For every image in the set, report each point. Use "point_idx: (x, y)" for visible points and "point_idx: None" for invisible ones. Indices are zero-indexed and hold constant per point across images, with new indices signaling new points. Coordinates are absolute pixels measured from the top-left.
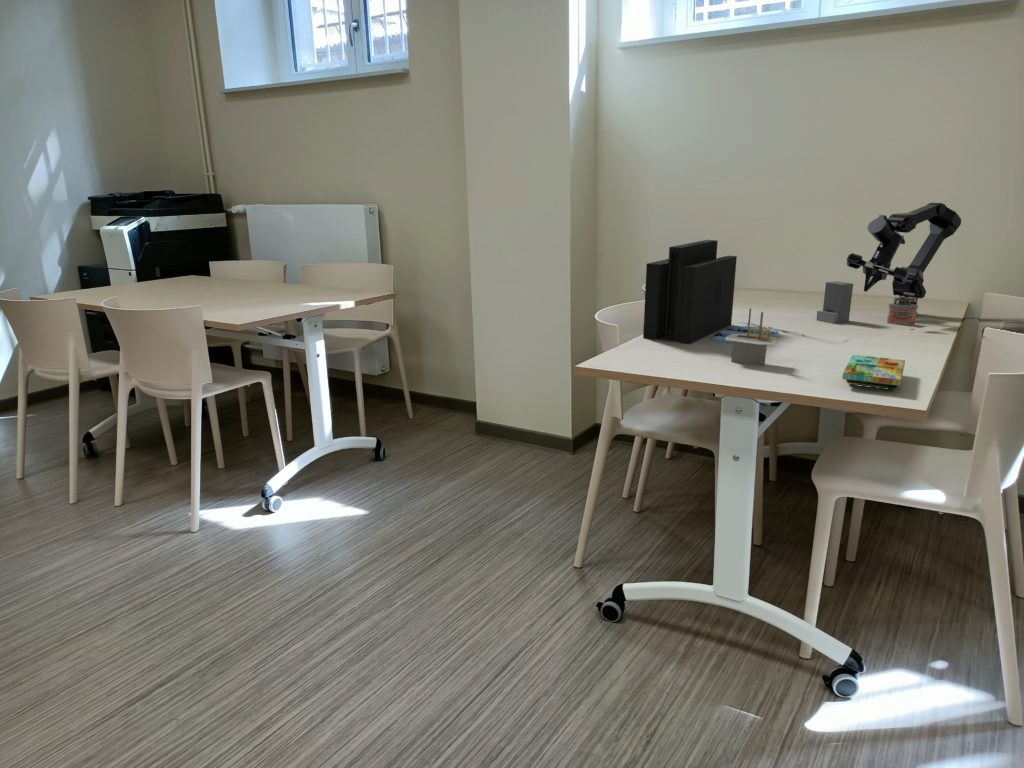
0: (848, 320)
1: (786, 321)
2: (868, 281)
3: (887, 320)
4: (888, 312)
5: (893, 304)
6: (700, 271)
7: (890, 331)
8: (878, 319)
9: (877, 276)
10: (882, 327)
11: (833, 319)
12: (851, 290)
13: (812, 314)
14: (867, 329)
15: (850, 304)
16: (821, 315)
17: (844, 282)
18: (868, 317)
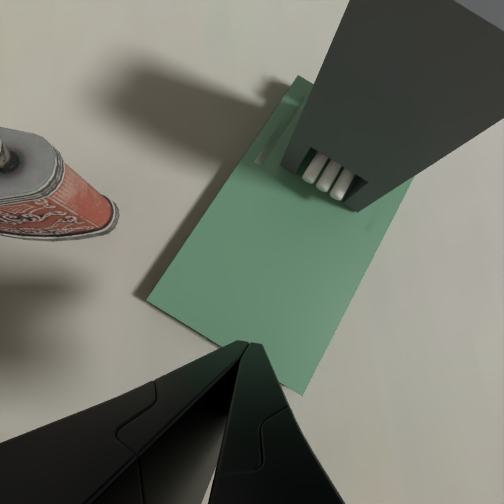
0: (281, 160)
1: (500, 161)
2: (232, 397)
3: (102, 199)
4: (82, 185)
5: (23, 135)
6: None
7: (101, 121)
8: None
9: (48, 434)
10: (134, 199)
11: None
12: (345, 18)
13: (465, 393)
14: (194, 126)
15: (303, 110)
16: None
17: (473, 7)
18: None
